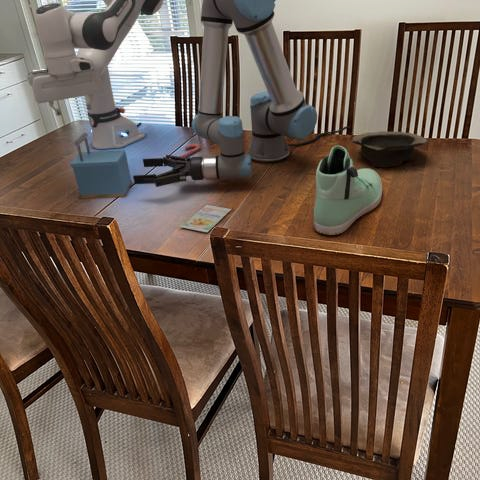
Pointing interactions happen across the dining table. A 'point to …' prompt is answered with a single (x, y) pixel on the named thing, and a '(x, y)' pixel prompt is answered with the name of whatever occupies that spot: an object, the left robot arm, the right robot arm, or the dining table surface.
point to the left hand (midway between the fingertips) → (74, 112)
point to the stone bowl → (388, 147)
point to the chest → (103, 180)
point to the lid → (95, 155)
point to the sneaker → (343, 192)
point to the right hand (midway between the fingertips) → (138, 171)
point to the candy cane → (196, 148)
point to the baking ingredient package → (206, 218)
